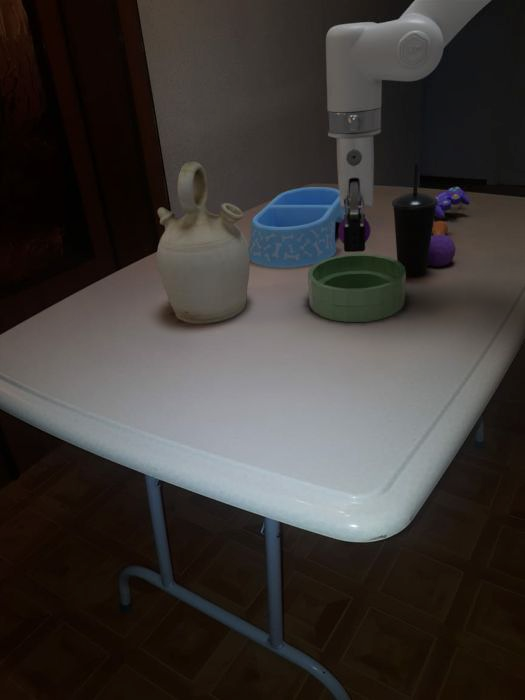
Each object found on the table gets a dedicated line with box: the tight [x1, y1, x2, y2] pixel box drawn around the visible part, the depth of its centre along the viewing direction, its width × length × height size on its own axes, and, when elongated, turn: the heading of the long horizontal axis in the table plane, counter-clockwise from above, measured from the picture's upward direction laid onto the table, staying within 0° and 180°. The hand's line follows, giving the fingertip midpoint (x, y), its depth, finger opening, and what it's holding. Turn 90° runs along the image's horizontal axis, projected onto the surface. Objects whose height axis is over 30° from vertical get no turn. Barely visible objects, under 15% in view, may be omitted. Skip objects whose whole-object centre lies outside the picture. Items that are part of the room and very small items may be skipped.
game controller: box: [434, 185, 471, 223], centre depth 128 cm, size 10×8×10 cm
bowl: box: [307, 253, 407, 323], centre depth 92 cm, size 16×16×6 cm
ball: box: [337, 217, 371, 244], centre depth 87 cm, size 5×5×5 cm
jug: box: [156, 161, 251, 324], centre depth 91 cm, size 15×16×25 cm
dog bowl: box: [248, 186, 345, 269], centre depth 122 cm, size 34×19×8 cm, turn 161°
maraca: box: [427, 220, 456, 268], centre depth 109 cm, size 6×6×20 cm
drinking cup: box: [391, 161, 438, 278], centre depth 97 cm, size 8×8×20 cm
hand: (354, 243), depth 88 cm, fingers closed on ball, 4 cm apart
